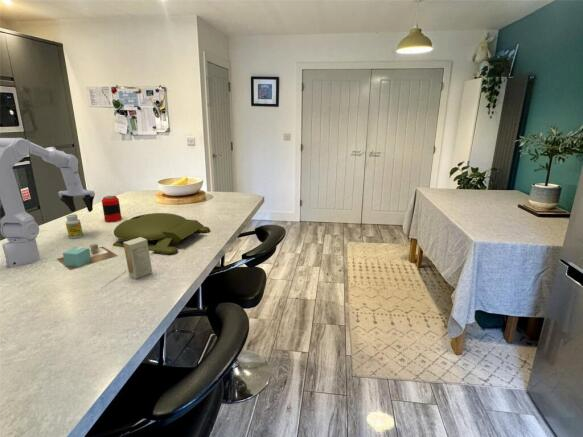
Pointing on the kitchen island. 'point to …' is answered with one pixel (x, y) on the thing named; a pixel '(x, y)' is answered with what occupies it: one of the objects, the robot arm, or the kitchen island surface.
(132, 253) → the skincare box
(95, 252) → the board
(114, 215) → the soda can
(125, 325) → the kitchen island surface
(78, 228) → the supplement bottle
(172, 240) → the green turtle
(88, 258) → the knob
